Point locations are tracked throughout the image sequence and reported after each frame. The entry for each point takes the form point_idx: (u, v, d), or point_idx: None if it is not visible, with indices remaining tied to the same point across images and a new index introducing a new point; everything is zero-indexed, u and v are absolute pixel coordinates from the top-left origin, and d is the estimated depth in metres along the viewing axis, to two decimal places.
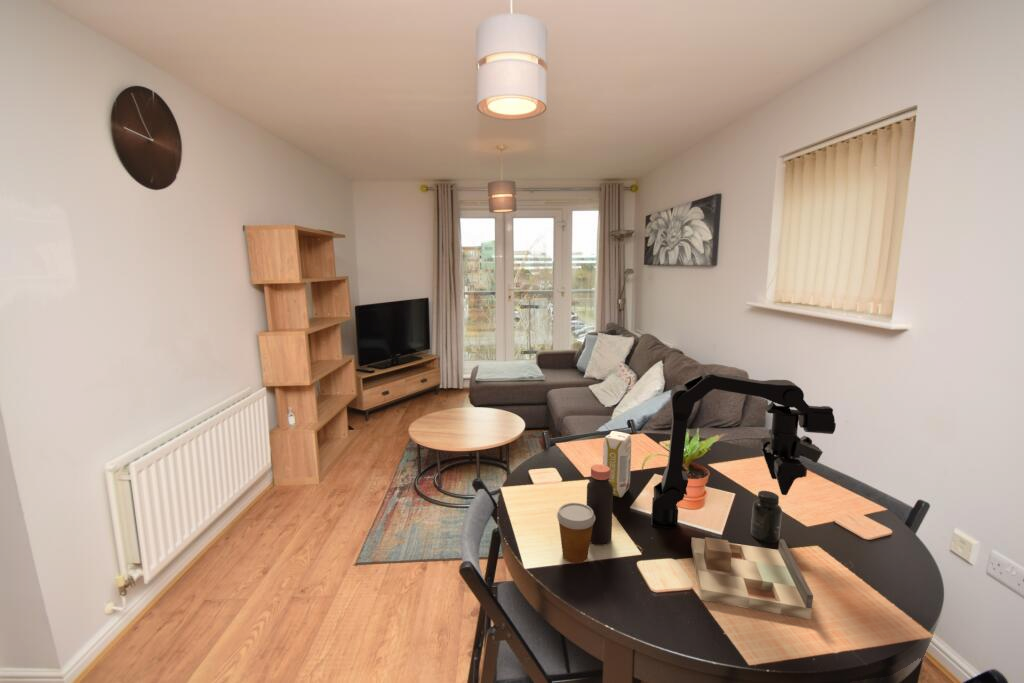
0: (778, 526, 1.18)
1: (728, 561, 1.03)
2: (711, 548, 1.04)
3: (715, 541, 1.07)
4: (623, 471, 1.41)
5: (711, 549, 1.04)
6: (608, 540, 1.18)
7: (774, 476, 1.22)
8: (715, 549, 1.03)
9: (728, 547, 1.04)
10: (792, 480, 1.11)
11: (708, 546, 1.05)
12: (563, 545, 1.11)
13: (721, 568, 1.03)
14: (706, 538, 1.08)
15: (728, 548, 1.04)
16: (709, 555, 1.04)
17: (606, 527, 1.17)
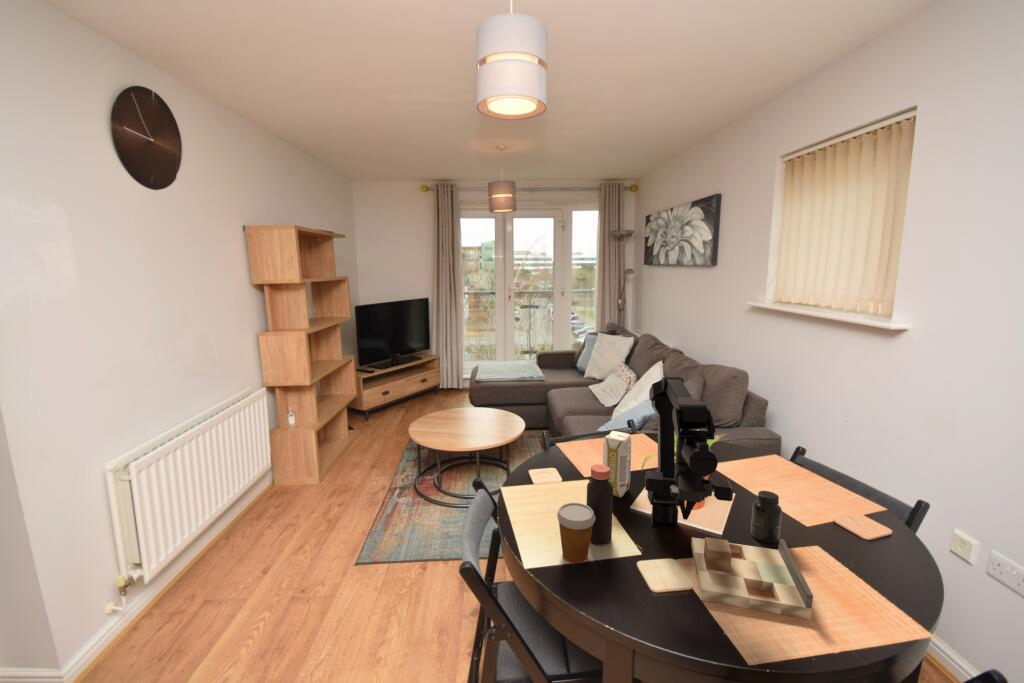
0: (778, 526, 1.18)
1: (728, 561, 1.03)
2: (711, 548, 1.04)
3: (715, 541, 1.07)
4: (623, 471, 1.41)
5: (711, 549, 1.04)
6: (608, 540, 1.18)
7: None
8: (715, 549, 1.03)
9: (728, 547, 1.04)
10: None
11: (708, 546, 1.05)
12: (563, 545, 1.11)
13: (721, 568, 1.03)
14: (706, 538, 1.08)
15: (728, 548, 1.04)
16: (709, 555, 1.04)
17: (606, 527, 1.17)
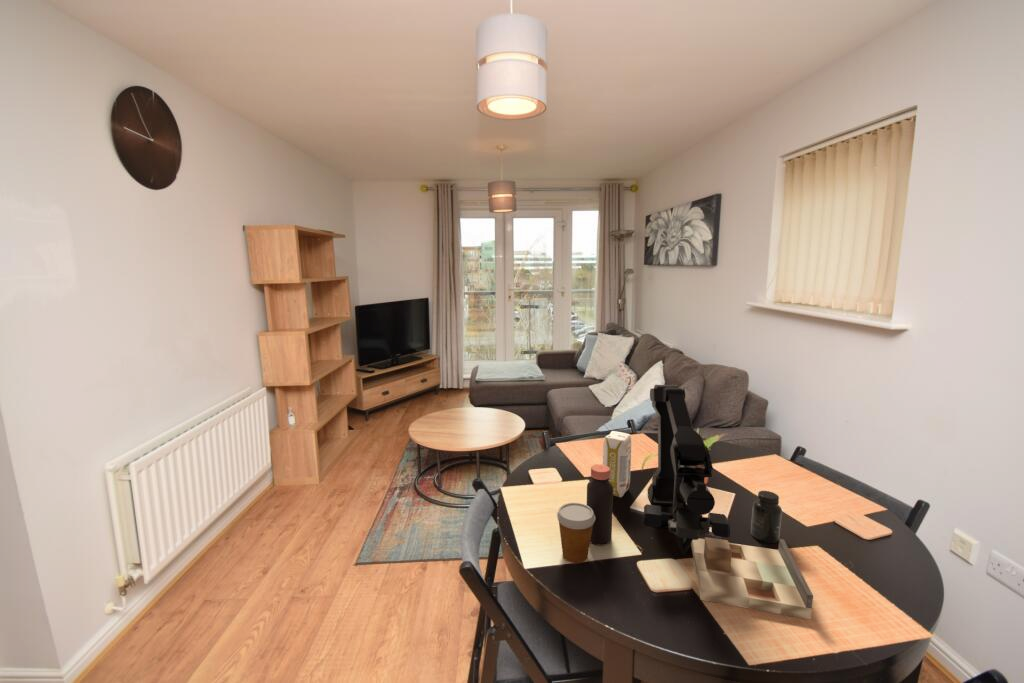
0: (778, 526, 1.18)
1: (728, 561, 1.03)
2: (711, 548, 1.04)
3: (715, 541, 1.07)
4: (623, 471, 1.41)
5: (711, 549, 1.04)
6: (608, 540, 1.18)
7: None
8: (715, 549, 1.03)
9: (728, 547, 1.04)
10: None
11: (708, 546, 1.05)
12: (563, 545, 1.11)
13: (721, 568, 1.03)
14: (706, 538, 1.08)
15: (728, 548, 1.04)
16: (709, 555, 1.04)
17: (606, 527, 1.17)
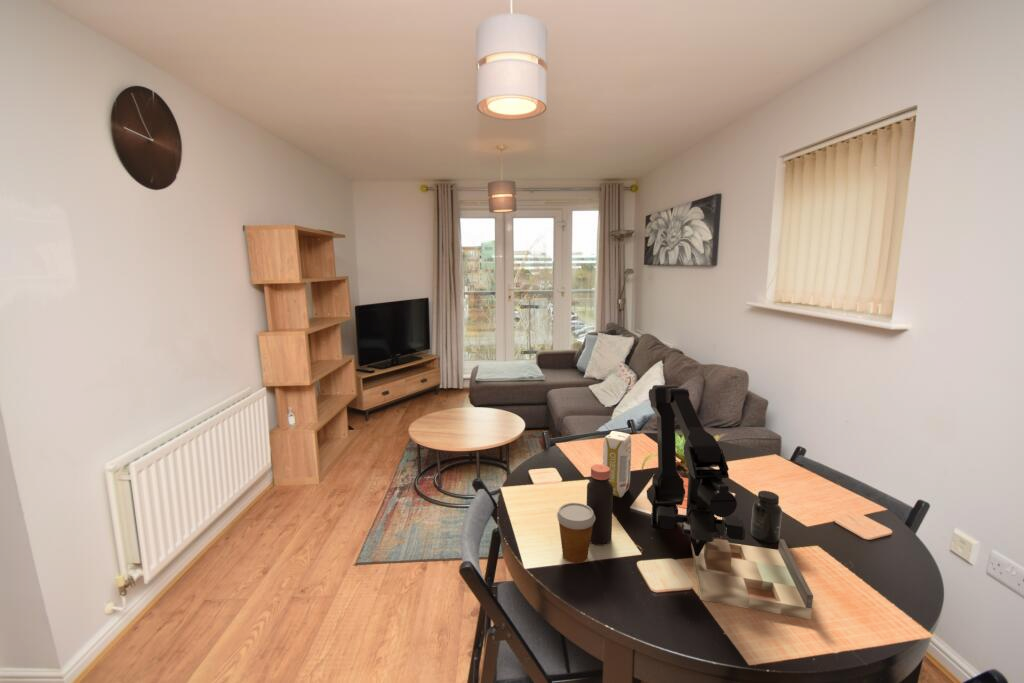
0: (778, 526, 1.18)
1: (728, 561, 1.03)
2: (711, 548, 1.04)
3: (715, 541, 1.06)
4: (623, 471, 1.41)
5: (711, 549, 1.04)
6: (608, 540, 1.18)
7: None
8: (715, 549, 1.03)
9: (728, 547, 1.04)
10: None
11: (708, 546, 1.05)
12: (563, 545, 1.11)
13: (721, 568, 1.03)
14: None
15: (728, 548, 1.04)
16: (709, 555, 1.04)
17: (606, 527, 1.17)
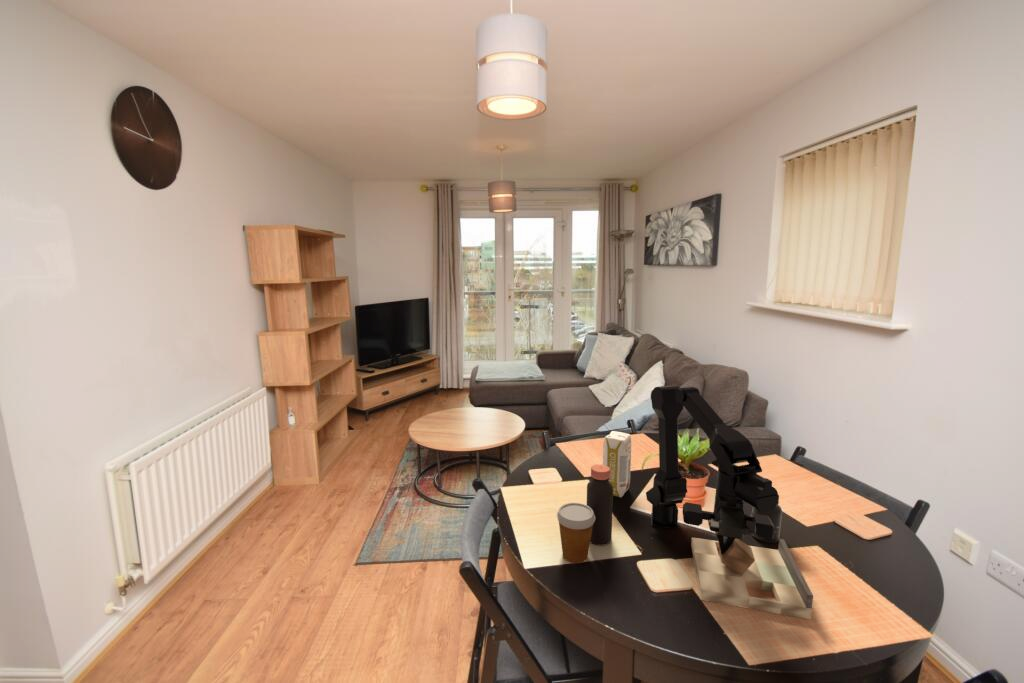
0: (778, 526, 1.18)
1: (747, 565, 1.01)
2: (736, 547, 1.02)
3: (740, 542, 1.05)
4: (623, 471, 1.41)
5: (737, 548, 1.02)
6: (608, 540, 1.18)
7: None
8: (740, 550, 1.02)
9: (752, 554, 1.03)
10: None
11: (734, 544, 1.03)
12: (563, 545, 1.11)
13: (736, 568, 1.02)
14: None
15: (752, 554, 1.02)
16: (732, 552, 1.02)
17: (606, 527, 1.17)
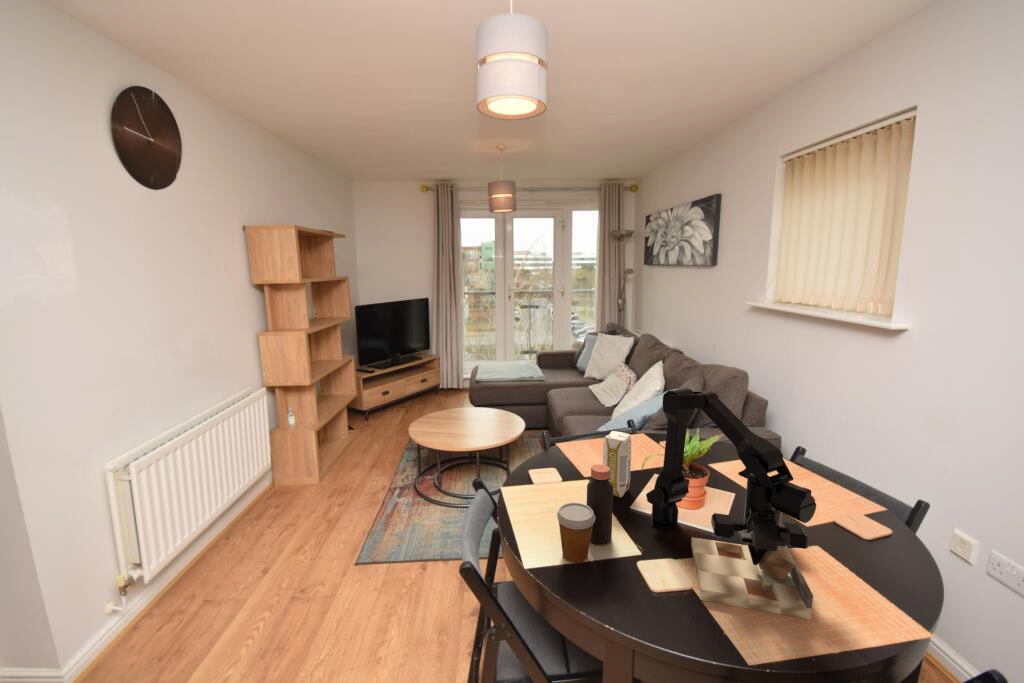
0: None
1: (787, 571, 0.99)
2: (775, 552, 1.00)
3: (778, 547, 1.03)
4: (623, 471, 1.41)
5: (776, 553, 1.00)
6: (608, 540, 1.18)
7: None
8: (779, 555, 1.00)
9: (791, 559, 1.01)
10: None
11: None
12: (563, 545, 1.11)
13: (775, 574, 1.00)
14: None
15: (791, 559, 1.00)
16: (770, 558, 1.00)
17: (606, 527, 1.17)
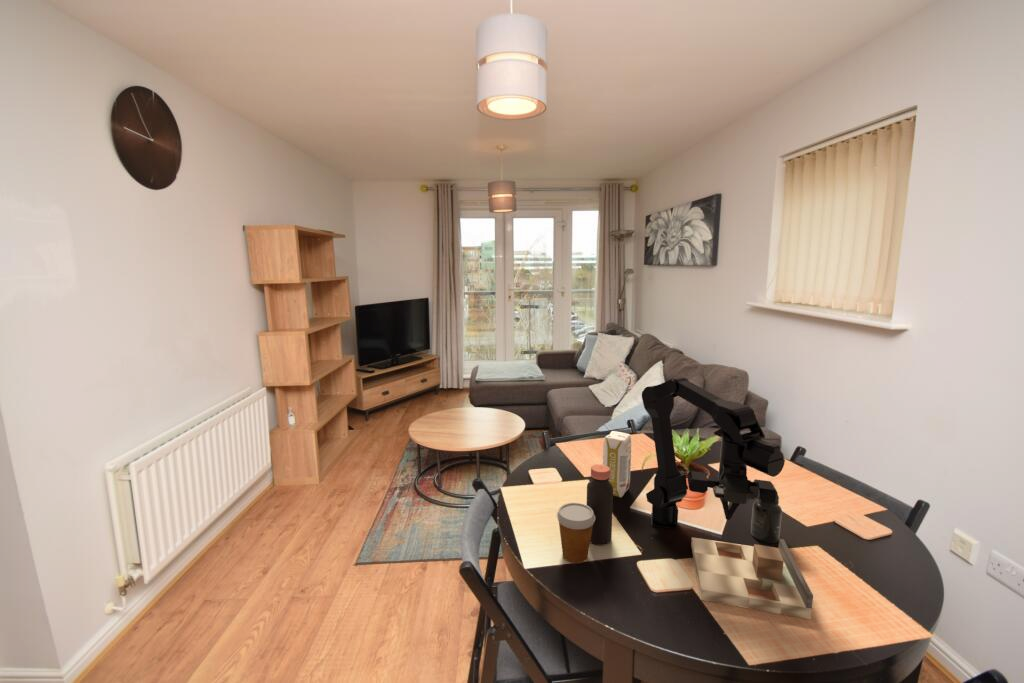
0: (778, 526, 1.18)
1: (780, 569, 1.00)
2: (761, 555, 1.01)
3: (765, 548, 1.04)
4: (623, 471, 1.41)
5: (762, 556, 1.01)
6: (608, 540, 1.18)
7: None
8: (766, 557, 1.01)
9: (779, 555, 1.01)
10: None
11: (758, 553, 1.02)
12: (563, 545, 1.11)
13: (772, 576, 1.00)
14: (755, 545, 1.05)
15: (779, 556, 1.01)
16: (759, 563, 1.01)
17: (606, 527, 1.17)
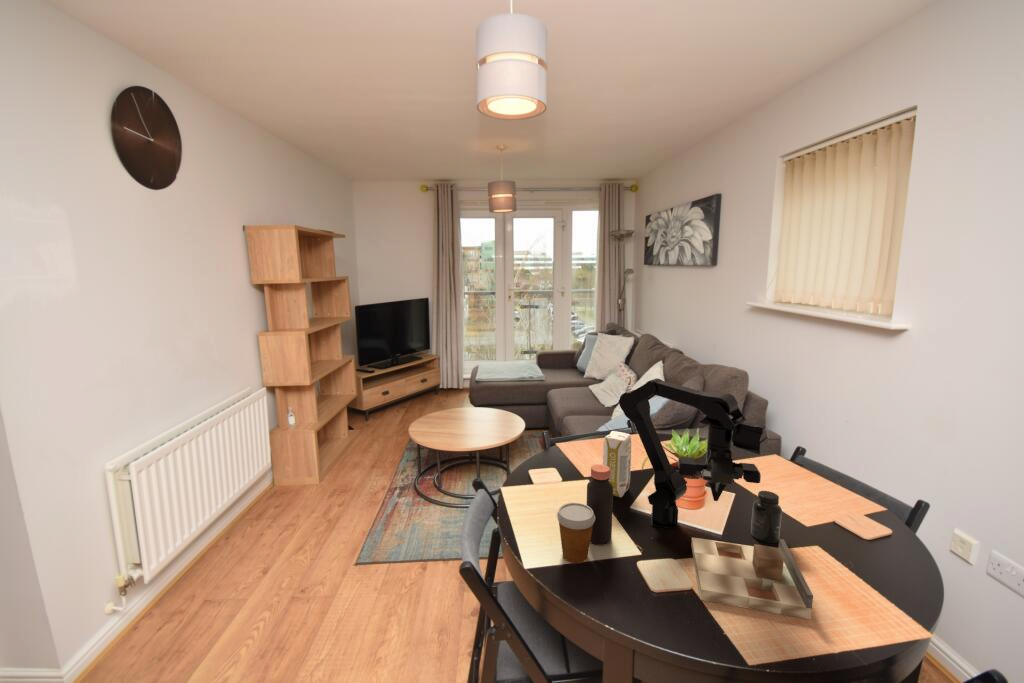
0: (778, 526, 1.18)
1: (780, 569, 1.00)
2: (761, 555, 1.01)
3: (765, 548, 1.04)
4: (623, 471, 1.41)
5: (762, 556, 1.01)
6: (608, 540, 1.18)
7: None
8: (766, 557, 1.01)
9: (779, 555, 1.01)
10: None
11: (758, 553, 1.02)
12: (563, 545, 1.11)
13: (772, 576, 1.00)
14: (755, 545, 1.05)
15: (779, 556, 1.01)
16: (759, 563, 1.01)
17: (606, 527, 1.17)
